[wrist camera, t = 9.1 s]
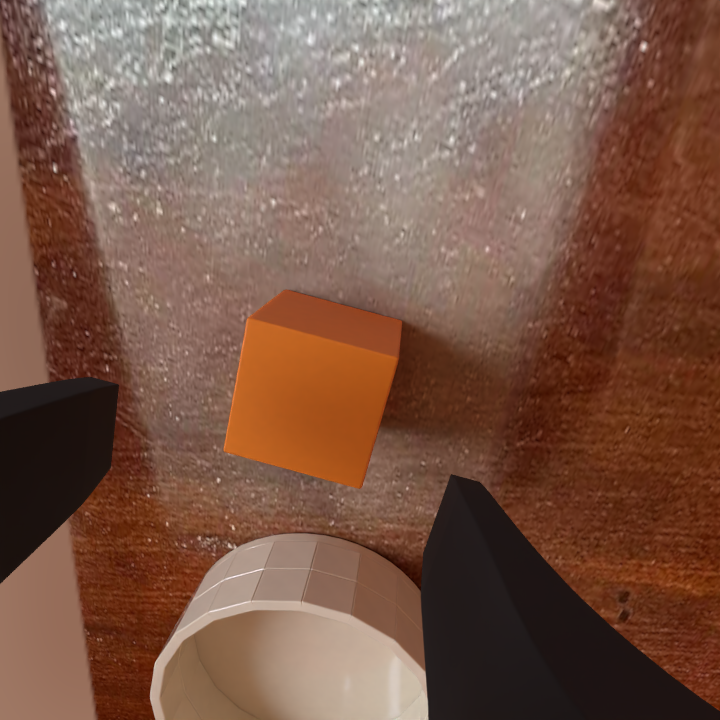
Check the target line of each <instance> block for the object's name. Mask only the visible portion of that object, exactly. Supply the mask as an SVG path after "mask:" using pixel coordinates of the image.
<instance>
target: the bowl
mask: <svg viewBox="0 0 720 720" xmlns="http://www.w3.org/2000/svg"><path fill="white" fill-rule="evenodd" d="M150 700H151V704H152V708H153V712H154V716H155V720H428V700H427V686H426V672H425V657H424V643H423V628H422V613H421V591H420V590H419V589H418V587H417V586H416V585H415V584H414V582H413V581H412V580H411V579H410V578H409V577H408V576H407V575H406V574H405V573H404V572H403V571H401V570H400V569H399V568H398V567H396V566H395V565H394V564H392V563H391V562H390V561H388V560H387V559H385V558H383V557H382V556H380V555H379V554H377V553H375V552H373V551H371V550H369V549H367V548H365V547H363V546H360V545H358V544H355V543H352V542H349V541H346V540H343V539H340V538H335V537H330V536H326V535H318V534H309V533H288V534H280V535H272V536H268V537H264V538H260V539H256V540H254V541H251V542H249V543H246V544H244V545H241V546H240V547H238V548H236V549H234V550H232V551H231V552H229V553H227V554H226V555H225V556H224V557H222V558H221V559H220V560H218V561H217V562H216V563H215V564H214V565H213V566H212V567H211V568H210V569H209V570H208V572H207V573H206V574H205V576H204V577H203V579H202V580H201V582H200V583H199V585H198V587H197V589H196V591H195V592H194V594H193V595H192V597H191V598H190V600H189V602H188V603H187V605H186V607H185V609H184V611H183V613H182V614H181V616H180V618H179V620H178V622H177V623H176V625H175V627H174V629H173V631H172V633H171V634H170V636H169V638H168V640H167V642H166V644H165V645H164V647H163V649H162V651H161V653H160V655H159V656H158V658H157V660H156V662H155V665H154V672H153V678H152V685H151V691H150Z"/></svg>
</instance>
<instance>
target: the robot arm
mask: <svg viewBox="0 0 720 720" xmlns="http://www.w3.org/2000/svg"><path fill="white" fill-rule="evenodd" d="M118 389H119V385H118V384H115V383H111V382H107V381H104V380H100V379H96V378H93V377H86V378H75V379H68V380H62V381H56V382H50V383H45V384H39V385H34V386H29V387H23V388H18V389H13V390H8V391H2V392H0V583H1V582H3V580H5V579H6V577H8V576H9V575H10V574H11V573H12V572H13V571H14V570H15V569H16V568H17V567H18V566H19V565H20V564H21V563H22V562H23V561H24V560H26V559H27V558H28V557H29V556H30V555H31V554H32V553H33V552H34V551H35V550H36V549H37V548H38V547H39V546H40V545H41V544H42V543H43V542H44V541H45V540H46V539H47V538H48V537H50V536H51V535H52V534H53V533H54V532H55V531H56V530H57V529H58V528H59V527H60V526H61V525H62V524H63V523H64V522H65V521H66V520H67V519H68V518H69V517H70V516H71V515H72V514H73V513H74V512H75V511H76V510H77V509H78V508H79V507H80V506H81V505H82V504H83V503H84V501H85V500H86V499H87V498H88V496H89V495H90V494H91V493H92V492H93V490H94V489H95V488H96V486H97V485H98V484H99V483H100V481H101V480H102V479H103V477H104V476H105V475H106V473H107V472H108V471H109V469H110V468H111V459H112V449H113V439H114V429H115V419H116V409H117V399H118ZM421 613H422V628H423V643H424V657H425V672H426V686H427V700H428V720H720V711H719V710H717V709H716V708H714V707H713V706H711V705H710V704H709V703H707V702H706V701H704V700H703V699H702V698H700V697H699V696H697V695H696V694H695V693H693V692H692V691H691V690H689V689H688V688H687V687H685V686H684V685H683V684H681V683H680V682H679V681H677V680H676V679H675V678H673V677H672V676H671V675H669V674H668V673H667V672H666V671H664V670H663V669H662V668H661V667H659V666H658V665H657V664H656V663H655V662H653V661H652V660H651V659H650V658H648V657H647V656H646V655H645V654H643V653H642V652H641V651H640V650H638V649H637V648H636V647H635V646H633V645H632V644H631V643H630V642H629V641H628V640H626V639H625V638H624V637H623V636H622V635H621V634H619V633H618V632H617V631H616V630H615V629H614V628H613V627H611V626H610V625H609V624H608V623H607V622H606V621H605V620H604V619H603V618H602V617H601V616H600V615H599V614H597V613H596V612H595V611H594V610H593V609H592V608H591V607H590V606H589V605H588V604H587V603H586V602H585V601H583V600H582V599H581V598H580V597H579V596H578V595H577V594H576V593H575V592H574V591H573V590H572V589H571V588H570V587H569V586H568V585H567V583H566V582H565V581H564V580H563V579H562V578H561V577H560V576H559V575H558V574H557V573H556V572H555V571H554V569H553V568H552V567H551V566H550V565H549V564H548V563H547V562H546V561H545V560H544V559H543V557H542V556H541V555H540V554H539V553H538V552H537V551H536V549H535V548H534V547H533V546H532V545H531V544H530V542H529V541H528V540H527V539H526V538H525V536H524V535H523V534H522V533H521V532H520V530H519V529H518V528H517V527H516V525H515V524H514V523H513V522H512V520H511V519H510V518H509V517H508V515H507V514H506V513H505V512H504V510H503V509H502V508H501V507H500V505H499V504H498V503H497V502H496V500H495V499H494V498H493V497H492V495H491V494H490V493H489V492H488V491H487V489H486V488H485V487H484V486H483V485H482V484H481V483H480V482H478V481H474V480H471V479H467V478H463V477H459V476H456V475H452V474H451V476H450V479H449V482H448V485H447V487H446V490H445V493H444V496H443V499H442V502H441V504H440V507H439V510H438V513H437V516H436V519H435V521H434V524H433V527H432V530H431V533H430V536H429V538H428V541H427V544H426V547H425V550H424V552H423V565H422V580H421Z"/></svg>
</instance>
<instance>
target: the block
mask: <svg viewBox="0 0 720 720" xmlns="http://www.w3.org/2000/svg"><path fill="white" fill-rule="evenodd" d="M401 332H402V321H401V320H398V319H394V318H390V317H387V316H383V315H379V314H375V313H372V312H368V311H364V310H361V309H357V308H353V307H349V306H346V305H342V304H338V303H334V302H331V301H327V300H323V299H319V298H316V297H312V296H308V295H305V294H301V293H297V292H293V291H290V290H283V291H282V292H281V293H280V294H278V295H277V296H276V297H274V298H273V299H272V300H270V301H269V302H268V303H267V304H265V305H264V306H263V307H261V308H260V309H259V310H257V311H256V312H255V313H254V314H252V315H251V316H250V317H248V319H247V322H246V328H245V334H244V339H243V345H242V350H241V356H240V361H239V367H238V372H237V378H236V384H235V389H234V395H233V400H232V406H231V411H230V417H229V422H228V428H227V433H226V439H225V445H224V452H227V453H230V454H234V455H238V456H241V457H245V458H249V459H252V460H256V461H260V462H263V463H267V464H271V465H274V466H278V467H282V468H285V469H289V470H293V471H296V472H300V473H303V474H307V475H311V476H314V477H318V478H322V479H325V480H329V481H333V482H336V483H340V484H344V485H347V486H351V487H355V488H358V489H360V488H361V487H362V485H363V482H364V478H365V475H366V471H367V468H368V464H369V461H370V458H371V454H372V451H373V447H374V444H375V440H376V437H377V434H378V430H379V427H380V423H381V420H382V416H383V413H384V409H385V406H386V403H387V399H388V396H389V392H390V389H391V385H392V382H393V378H394V375H395V372H396V368H397V365H398V361H399V353H400V342H401Z"/></svg>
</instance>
